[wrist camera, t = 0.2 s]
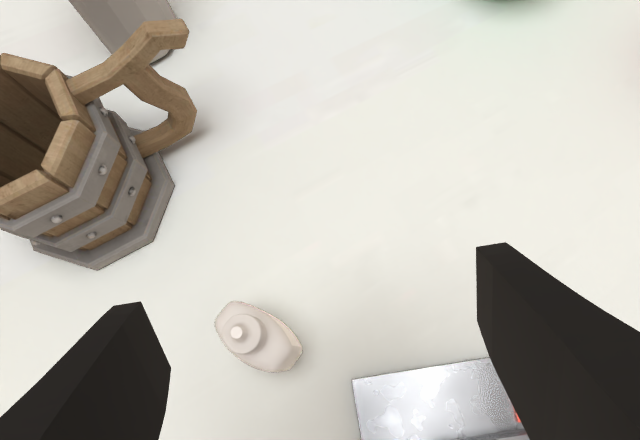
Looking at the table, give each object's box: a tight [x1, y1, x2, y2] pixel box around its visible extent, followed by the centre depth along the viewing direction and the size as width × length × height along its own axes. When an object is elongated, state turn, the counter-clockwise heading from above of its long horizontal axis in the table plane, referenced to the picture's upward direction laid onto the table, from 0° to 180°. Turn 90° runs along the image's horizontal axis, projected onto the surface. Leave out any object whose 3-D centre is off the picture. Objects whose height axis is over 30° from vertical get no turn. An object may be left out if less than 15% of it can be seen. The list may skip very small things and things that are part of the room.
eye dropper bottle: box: [214, 301, 303, 373], centre depth 35 cm, size 4×6×12 cm
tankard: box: [0, 19, 197, 270], centre depth 38 cm, size 20×13×15 cm, turn 118°
